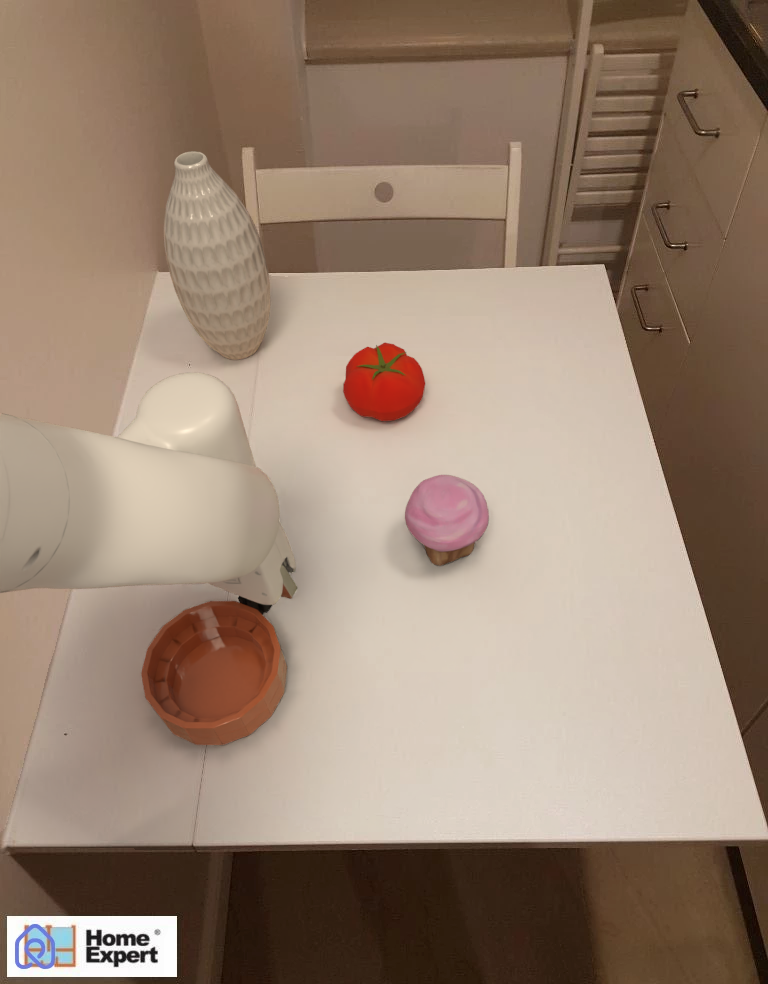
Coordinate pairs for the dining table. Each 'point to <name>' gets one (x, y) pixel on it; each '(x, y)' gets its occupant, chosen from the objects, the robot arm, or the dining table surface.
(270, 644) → the bowl
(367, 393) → the tomato
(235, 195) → the vase
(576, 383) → the dining table surface
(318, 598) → the dining table surface
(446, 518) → the cupcake
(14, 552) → the robot arm
